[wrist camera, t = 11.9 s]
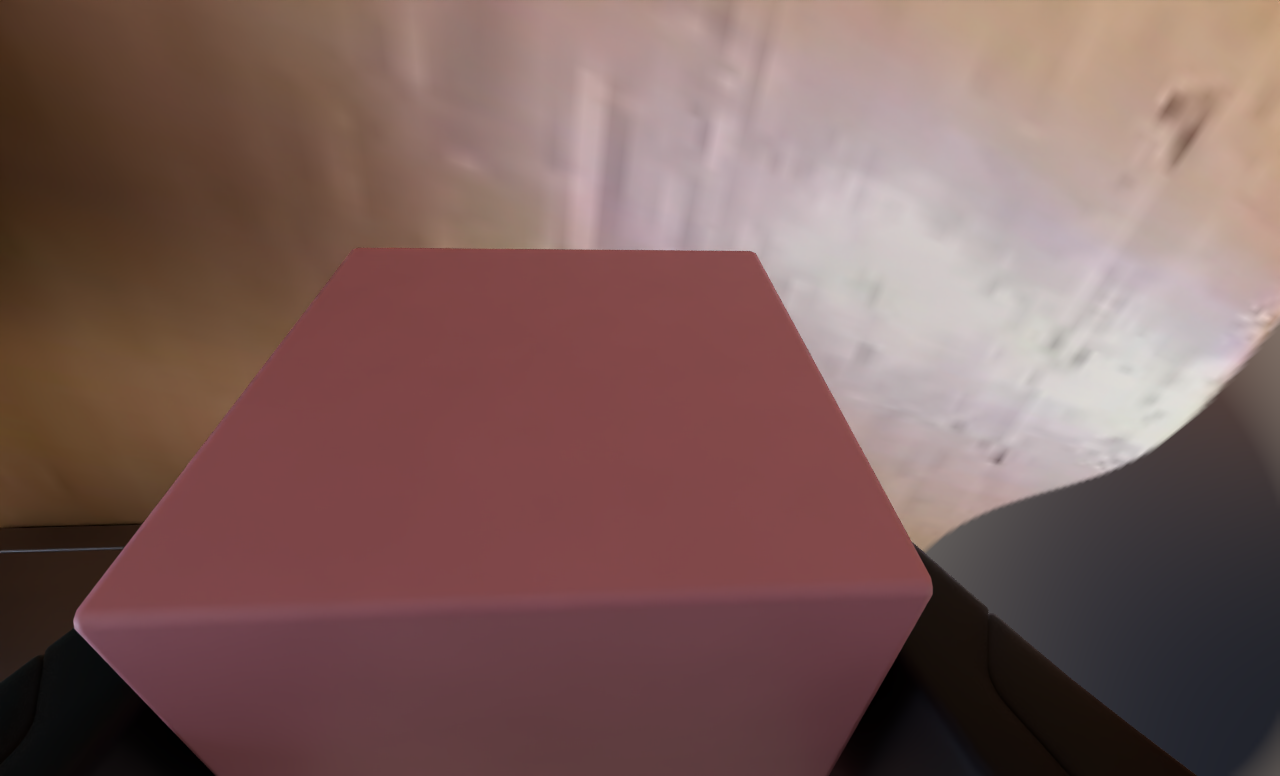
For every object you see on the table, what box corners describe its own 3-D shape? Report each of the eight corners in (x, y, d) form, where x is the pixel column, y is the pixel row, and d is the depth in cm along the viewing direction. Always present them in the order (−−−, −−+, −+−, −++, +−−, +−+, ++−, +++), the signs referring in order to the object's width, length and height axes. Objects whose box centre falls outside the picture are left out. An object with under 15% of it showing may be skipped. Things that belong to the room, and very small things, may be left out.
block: (712, 511, 11) (787, 856, 7) (425, 519, 10) (319, 892, 6) (756, 247, 8) (943, 589, 4) (351, 244, 7) (54, 624, 3)
